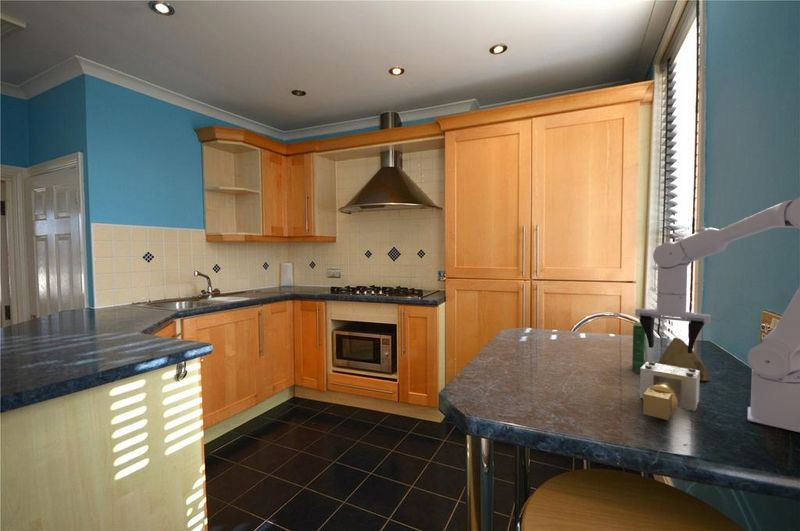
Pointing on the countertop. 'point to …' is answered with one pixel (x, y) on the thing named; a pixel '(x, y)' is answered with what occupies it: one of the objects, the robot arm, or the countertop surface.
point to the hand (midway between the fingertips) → (670, 349)
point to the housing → (673, 382)
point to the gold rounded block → (660, 400)
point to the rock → (683, 358)
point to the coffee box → (638, 347)
